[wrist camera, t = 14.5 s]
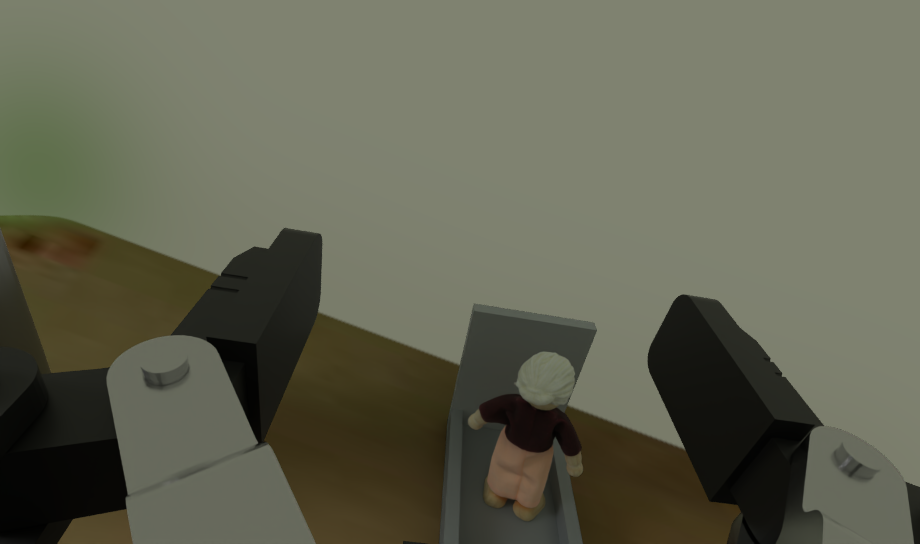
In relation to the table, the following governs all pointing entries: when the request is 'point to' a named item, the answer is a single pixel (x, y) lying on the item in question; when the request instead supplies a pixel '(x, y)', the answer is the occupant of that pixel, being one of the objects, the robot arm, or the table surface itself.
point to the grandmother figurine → (530, 434)
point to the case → (470, 451)
